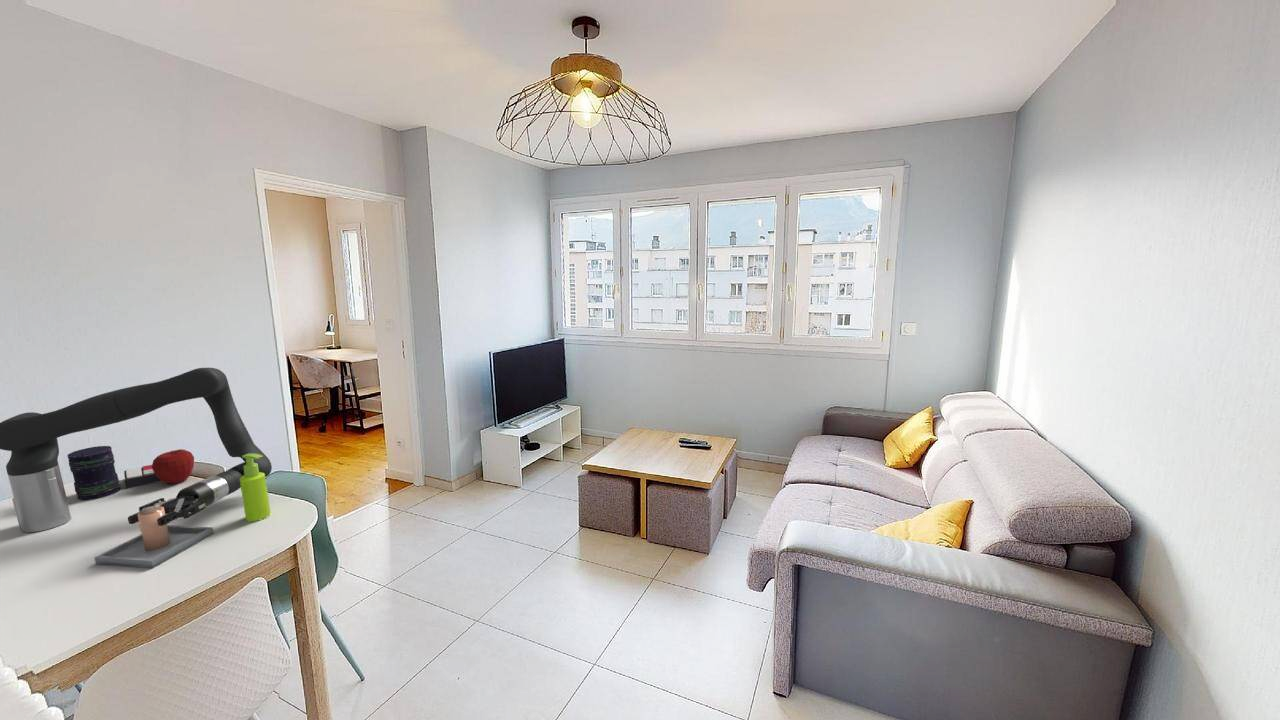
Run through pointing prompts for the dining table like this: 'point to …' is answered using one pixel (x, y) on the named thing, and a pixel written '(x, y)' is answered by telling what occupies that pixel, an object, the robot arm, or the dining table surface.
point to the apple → (173, 466)
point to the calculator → (140, 476)
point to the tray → (137, 556)
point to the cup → (153, 529)
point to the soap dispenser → (254, 490)
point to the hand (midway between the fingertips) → (144, 521)
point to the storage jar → (94, 472)
